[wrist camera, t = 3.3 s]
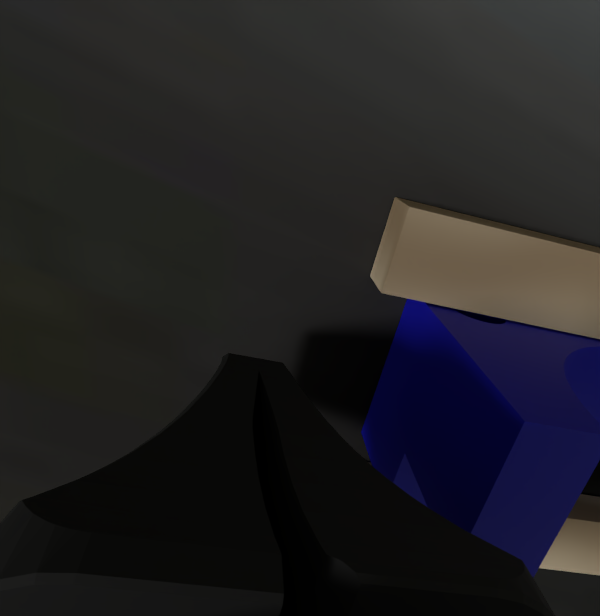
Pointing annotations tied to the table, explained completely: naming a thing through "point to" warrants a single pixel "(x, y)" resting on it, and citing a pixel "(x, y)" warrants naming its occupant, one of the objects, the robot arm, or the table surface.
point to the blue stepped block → (488, 423)
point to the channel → (500, 304)
